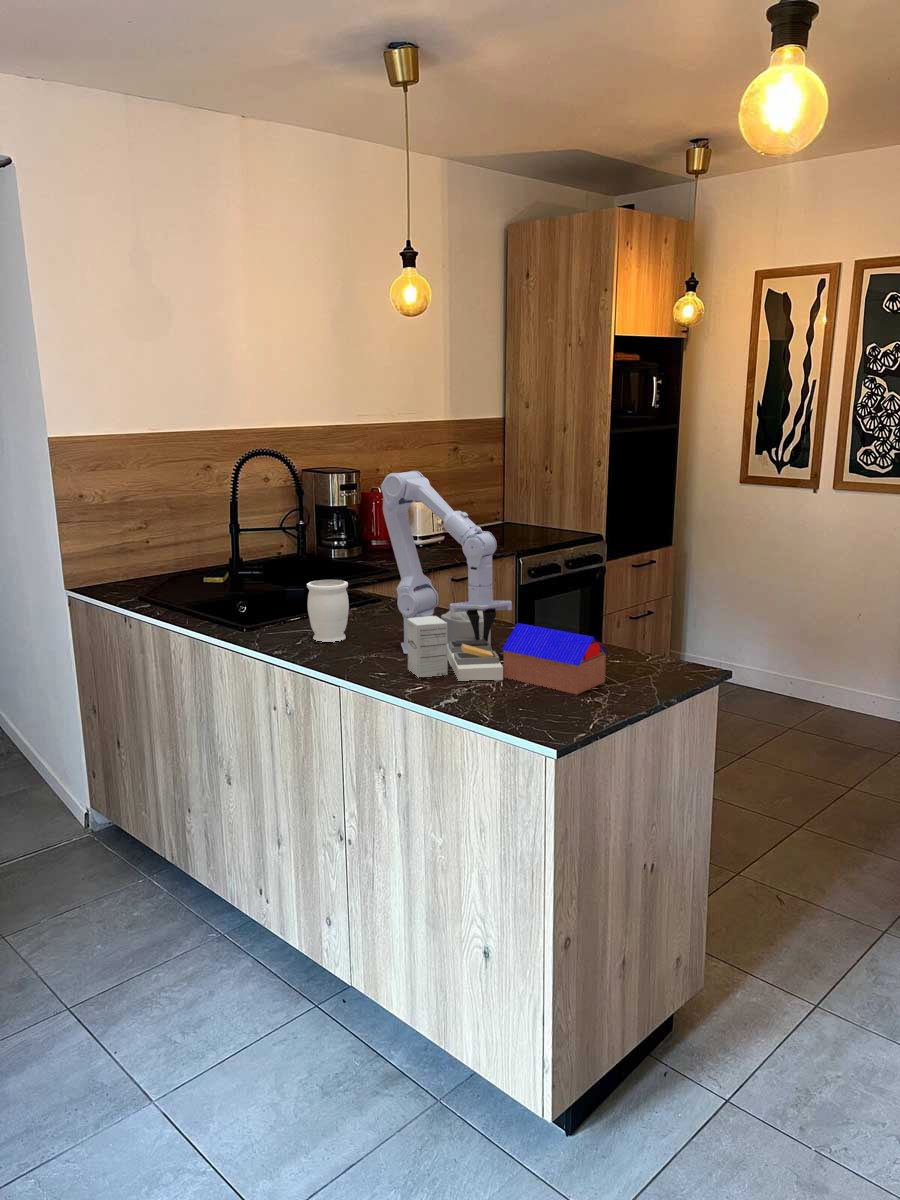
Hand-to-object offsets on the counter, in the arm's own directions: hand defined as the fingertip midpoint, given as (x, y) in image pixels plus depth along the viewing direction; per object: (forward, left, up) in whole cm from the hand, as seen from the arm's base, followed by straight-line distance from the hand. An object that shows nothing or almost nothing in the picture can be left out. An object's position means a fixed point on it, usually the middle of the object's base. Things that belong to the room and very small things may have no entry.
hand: (481, 640), depth 218 cm
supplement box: (+8, -14, -5) cm, 17 cm away
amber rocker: (+10, -3, 0) cm, 10 cm away
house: (+17, +13, -5) cm, 23 cm away
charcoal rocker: (0, -3, 0) cm, 3 cm away
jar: (-26, -36, -5) cm, 45 cm away
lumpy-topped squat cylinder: (-16, -1, -5) cm, 17 cm away
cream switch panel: (+5, -3, -5) cm, 8 cm away
